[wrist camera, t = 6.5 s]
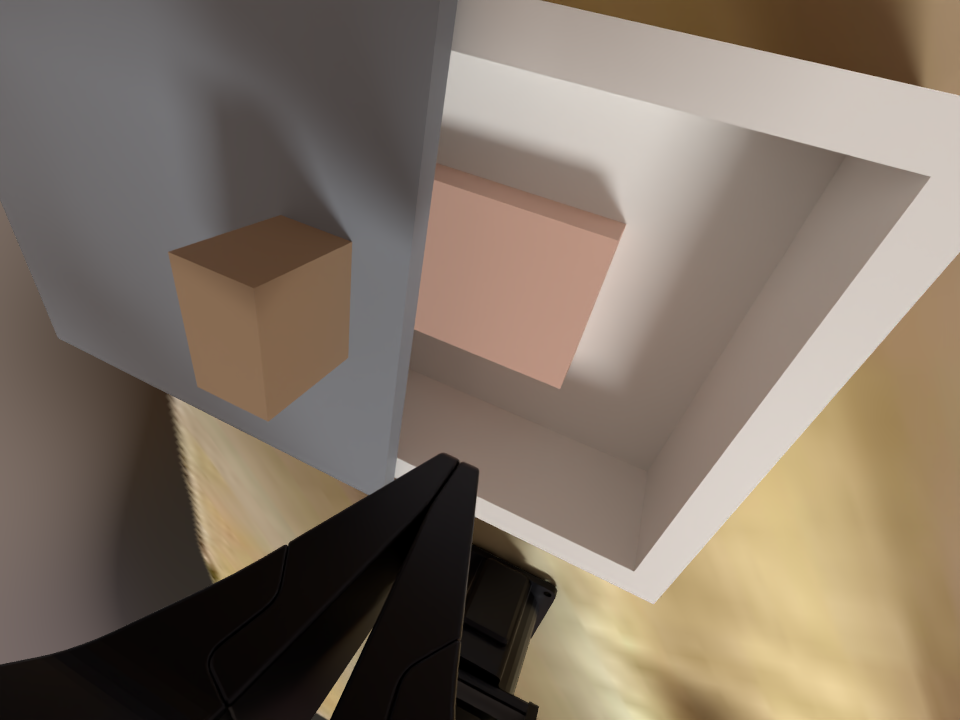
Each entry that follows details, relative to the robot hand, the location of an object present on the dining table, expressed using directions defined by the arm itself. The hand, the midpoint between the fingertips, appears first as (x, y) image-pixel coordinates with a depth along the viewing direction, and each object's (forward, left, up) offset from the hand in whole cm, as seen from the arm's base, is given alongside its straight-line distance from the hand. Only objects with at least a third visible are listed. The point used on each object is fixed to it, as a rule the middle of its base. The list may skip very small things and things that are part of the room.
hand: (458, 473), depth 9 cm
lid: (0, +13, -5) cm, 14 cm away
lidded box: (0, +2, -11) cm, 11 cm away
